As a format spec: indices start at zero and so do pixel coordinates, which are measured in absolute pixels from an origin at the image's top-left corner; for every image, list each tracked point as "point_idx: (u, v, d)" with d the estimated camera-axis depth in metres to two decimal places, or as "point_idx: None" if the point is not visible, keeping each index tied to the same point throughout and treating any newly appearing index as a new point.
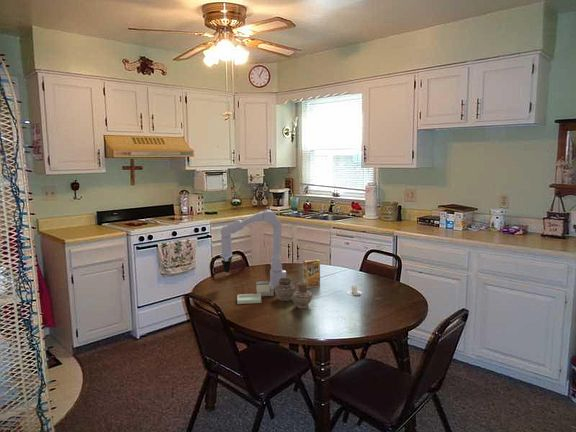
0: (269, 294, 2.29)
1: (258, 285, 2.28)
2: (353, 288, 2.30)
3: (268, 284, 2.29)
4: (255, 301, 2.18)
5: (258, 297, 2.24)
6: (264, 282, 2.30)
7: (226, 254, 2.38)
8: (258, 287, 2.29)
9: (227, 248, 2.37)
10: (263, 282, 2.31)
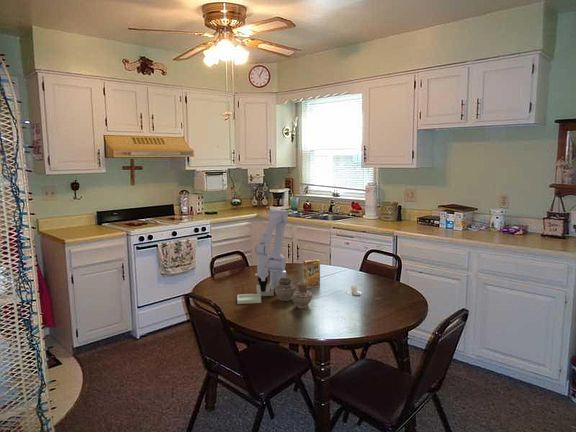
0: (269, 294, 2.29)
1: (258, 285, 2.28)
2: (353, 288, 2.30)
3: (268, 284, 2.29)
4: (255, 301, 2.18)
5: (258, 297, 2.24)
6: None
7: (262, 273, 2.27)
8: (258, 287, 2.29)
9: (263, 267, 2.26)
10: None
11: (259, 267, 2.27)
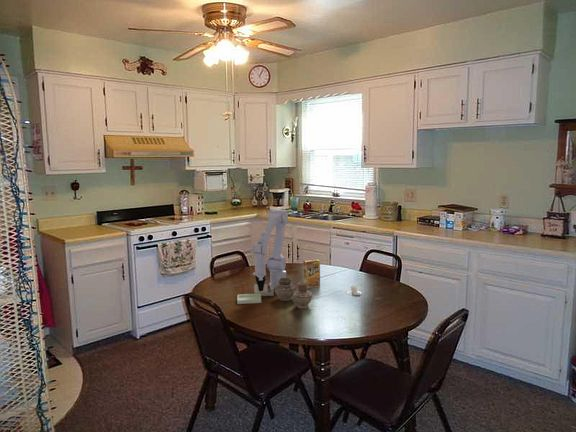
0: (269, 294, 2.29)
1: (256, 284, 2.28)
2: (353, 288, 2.30)
3: (266, 283, 2.29)
4: (255, 301, 2.18)
5: (258, 297, 2.24)
6: None
7: (260, 273, 2.27)
8: (256, 286, 2.28)
9: (261, 266, 2.26)
10: None
11: (257, 266, 2.27)
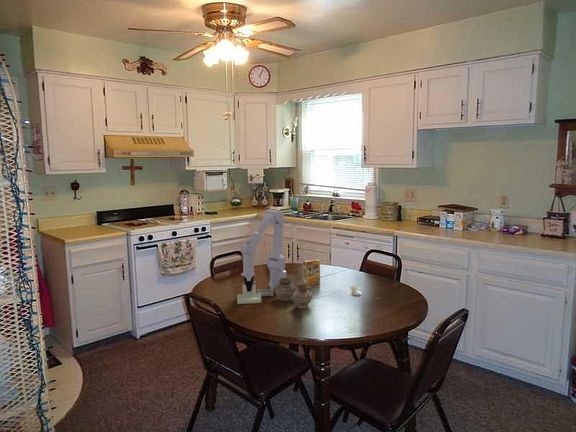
0: (269, 294, 2.29)
1: (244, 285, 2.28)
2: (353, 288, 2.30)
3: (254, 284, 2.28)
4: (255, 301, 2.18)
5: (258, 297, 2.24)
6: None
7: (248, 273, 2.26)
8: (244, 287, 2.28)
9: (249, 267, 2.26)
10: None
11: (245, 267, 2.26)
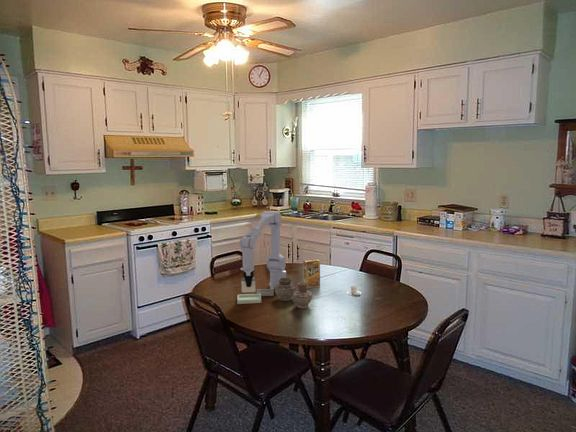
0: (269, 294, 2.29)
1: (243, 281, 2.18)
2: (352, 288, 2.29)
3: (253, 280, 2.19)
4: (255, 301, 2.18)
5: (258, 297, 2.24)
6: None
7: (248, 268, 2.17)
8: (243, 283, 2.18)
9: (249, 261, 2.16)
10: None
11: (244, 261, 2.17)
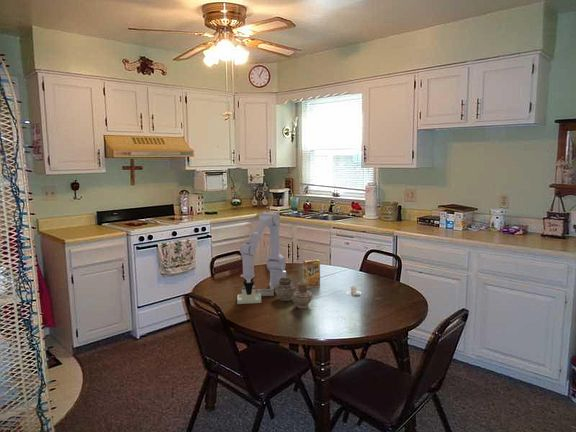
0: (269, 294, 2.29)
1: (243, 290, 2.19)
2: (352, 288, 2.29)
3: (254, 289, 2.19)
4: (255, 301, 2.18)
5: (258, 297, 2.24)
6: None
7: (248, 274, 2.17)
8: (243, 292, 2.19)
9: (249, 268, 2.17)
10: None
11: (244, 268, 2.17)
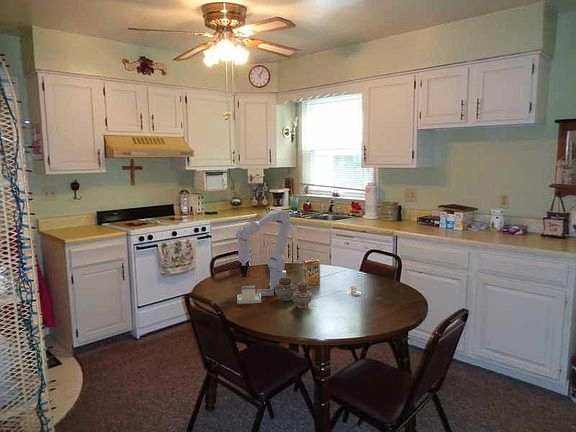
0: (269, 294, 2.29)
1: (243, 290, 2.19)
2: (352, 288, 2.29)
3: (254, 289, 2.19)
4: (255, 301, 2.18)
5: (258, 297, 2.24)
6: (249, 286, 2.21)
7: (243, 258, 2.29)
8: (243, 292, 2.19)
9: (244, 252, 2.28)
10: (249, 286, 2.21)
11: (240, 252, 2.29)
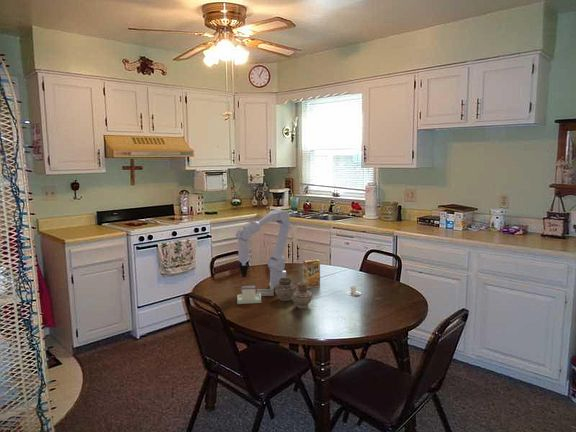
0: (269, 294, 2.29)
1: (243, 290, 2.19)
2: (352, 288, 2.29)
3: (254, 289, 2.19)
4: (255, 301, 2.18)
5: (258, 297, 2.24)
6: (249, 286, 2.21)
7: (243, 258, 2.29)
8: (243, 292, 2.19)
9: (244, 252, 2.28)
10: (249, 286, 2.21)
11: (240, 252, 2.29)
